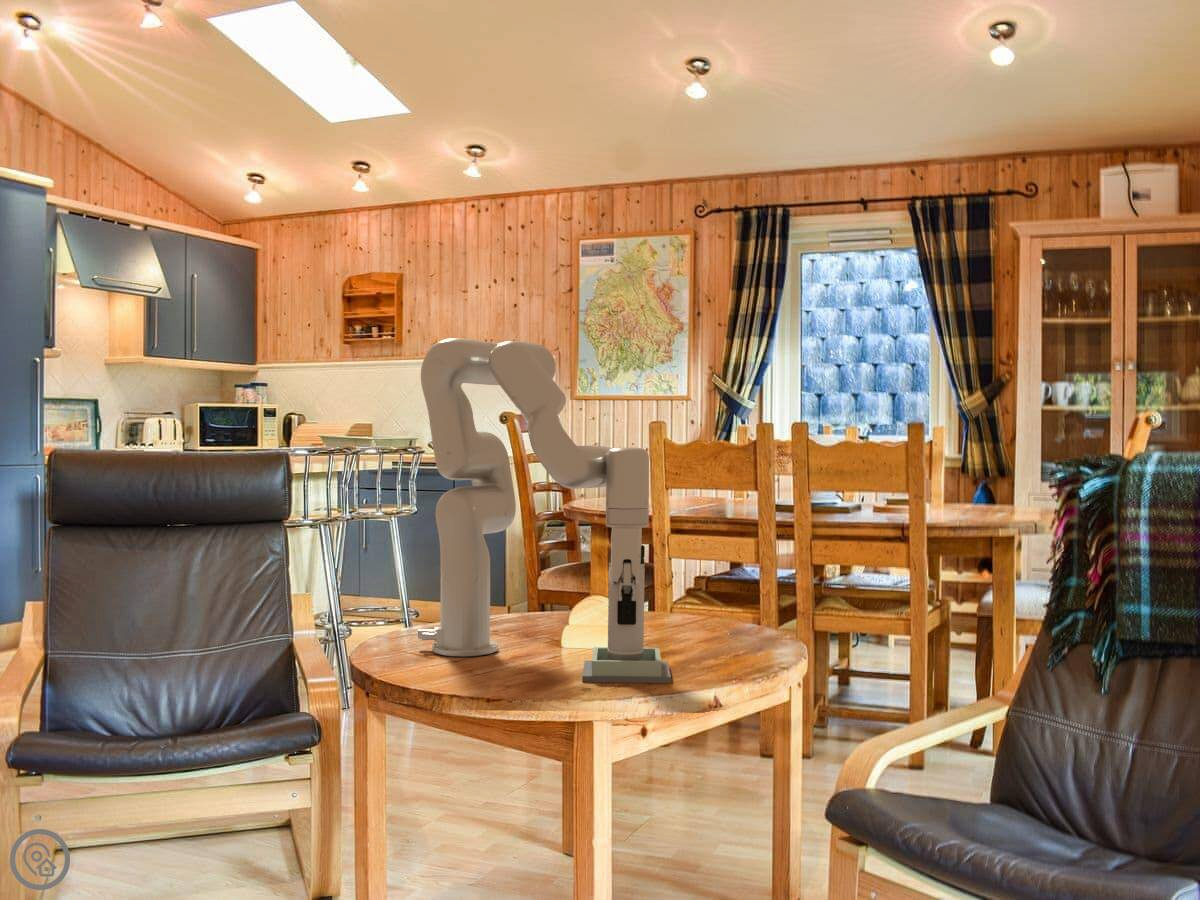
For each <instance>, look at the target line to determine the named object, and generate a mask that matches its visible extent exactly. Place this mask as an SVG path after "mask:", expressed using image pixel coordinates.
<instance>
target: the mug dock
mask: <svg viewBox="0 0 1200 900" xmlns="http://www.w3.org/2000/svg"><path fill="white" fill-rule="evenodd" d="M583 663H584V664H583V669H582V676H581V677H582V678H581V681H585V682H584V683H626V684H627V683H636V684H637V683H639V684H641V683H642V684H643V683H644V684H646V683H647V684H671V683H672V677H671V675H672V674H671V671H670V665H669V662H668V661H666V660H665V661H664V660H662V656H661V651H660V647H643V658H642V659H641V660H638V661H626V660H611V659H609V658H608V646H607V647H606V646H605V647H603V646H602V647H601V646H600V647H599V646H598V647H597V646H595V647H594V646H593V650H592V658H591V660H584V662H583Z"/></svg>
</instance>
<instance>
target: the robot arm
mask: <svg viewBox="0 0 1200 900" xmlns="http://www.w3.org/2000/svg"><path fill="white" fill-rule="evenodd" d="M556 367H557V366H556V361H555V356H554V355H553V354H552V352H551V351H550V350H549V349H548V348H547V347H545V346H544V345H543V344H540V343H535V342H529V341H528V342H527V341H520V340H508V341H507V340H506V341H504V342H491V341H483V340H475V339H470V338H459V337H457V338H456V337H452V338H446V339H443V340H440V341H438V342H437V343H435V344H434V345H432V346H431V347H430V348H429V349H428V351H427V352H426V354H425V356H424V359H423V361H422V365H421V369H420V384H421V388H422V389H421V390H422V393H423V397H424V400H425V404H426V407H427V414H428V418H429V428H430V429H429V430H430V433H431V434H430V435H431V439H432V440H431V441H432V447H433V453H434V459H435V460H434V461H435V464H436V465H435V466H436V469H437V471H438V473H439V474H440V476H442V477H443V478H445V479H447V480H451V481H467V480H468V481H471V484H472V485H469V486H459V487H454V488H451V489H449V490H447V491H446V492H444V493H443V494H442V495H441V496H440V498H439V499H438V502H437V503H436V506H435V522H436V527H437V532H438V539H439V549H440V552H439V553H440V555H439V556H440V614H439V615H440V616H439V617H440V619H439V620H440V621H439V622H440V625H439V626H438V627H434V629H427V628H419V629H418V630H417V639H418V640H421V641H433V642H434V643H433V644H432V646H431V651H432V652H433V653H434V654H437V655H439V656H448V657H477V656H478V657H479V656H486V655H490V654H493V653H496V652H498V650H499V644H498V643H497V641H494V640H490V639H491V637H490V636H491V635H490V634H491V556H490V551H489V547H488V545H487V542H486V538H485V536H484V535H487V534H488V535H489V534H496V533H500V532H503V531H505V530H506V529H508V528H509V527H510V526H511V525H512V524H513V522H514V520H515V516H516V512H517V511H516V510H517V509H516V508H517V504H516V503H517V502H516V496H515V488H514V482H513V476H512V475H513V474H512V470H511V469H512V468H511V465H510V459H509V453H508V450H507V448H506V445H504V442H503V441H502V440H501V438H500V437H498V435H495V434H493V433H491V432H488V431H477V429H476V424H475V420H474V419H475V418H474V412H473V411H474V410H473V408H472V404H471V402H470V400H469V398H468V396H467V395H466V393H465V392H464V390H463V388H462V385H463V384H472V385H484V386H485V385H488V386H499V387H500V388H501V389H502V390H503V392H504V393H505V394H506V396H507V397H508V398H509V399H510V401H511V402H512V403H513V405H514V406H515V408H516V409H517V410H518V411H519V413H520V414H521V415H522V417H523V419H525V421H526V423H527V434H528V437H529V442H530V446H531V449H532V452H533V453H534V456H535V457H536V458H537V460H538V461H539V462H540V464H541V466H542V467H543V468H544V469H545V470H546V472H547V473H548V474H549V475H550V477H551V478H552V479H553V480H554V481H555V482H556V483H557V484H558V485H560V486H562V487H563V488H566V489H570V490H571V489H572V490H579V489H596V488H597V489H598V488H605V527H607V528H611V534H610V547H611V583H612V584H613V585H614V582H618V580H619V601H617V623H618V624H619V625H635V624H636V601H635V585H636V584H638V583H639V576H640V565H641V545H643V542H642V540H643V539H642V535H643V532H642V531H643V529H642V528H644V529H645V528H649V526H650V524H649V523H650V522H649V521H650V520H649V519H650V516H649V513H650V510H649V509H650V508H649V507H650V505H649V503H650V501H649V500H650V456H649V455H650V454H649V452H648V451H647V450H646V449H644V448H642V447H609V446H602V445H577V444H575V441H573V440H572V439H571V437H570V436H569V434H567V431H565V429H564V428H563V426H562V424H561V423H560V420H559V415H560V413H561V412H562V411H563V409H564V408H565V406H566V402H567V399H566V395H565V393H564V391H563V390H562V389H561V388H560V386H559V385H558V384H557V383H556V381H555V380H554V377H555V375H556V369H557V368H556ZM623 560H624V570H623ZM635 576H636V578H635ZM622 579H624V583H621V580H622ZM632 579H633V583H631V580H632Z"/></svg>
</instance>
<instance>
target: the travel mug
mask: <svg viewBox="0 0 1200 900" xmlns="http://www.w3.org/2000/svg"><path fill="white" fill-rule="evenodd" d="M608 551H609V555H608V556H609V558H608V559H609V561H608V566H609V567H608V600H607V601H608V605H607V607H608V609H607V612H608V613H607V614H608V615H607V617H608V618H607V647H608V658H609V659H611V660H626V661H638V660H641V659H642V658H643V648H644V641H645V640H644V639H645V638H644V635H645V634H644V633H645V631H644V630H645V628H644V625H645V575H646V574H645V567H646V566H645V565H646V563H645V545H643V544H642V545H641V565H640V576H639V583H638V584H636V585H635V601H636V624H635V625H619V624H618V623H617V601H619V580H618V582H614V585H613V584H612V583H611V546H610V547H609V550H608ZM623 570H624V560H623ZM635 578H636V576H635ZM621 583H624V579H622V580H621ZM631 583H633V579H632V580H631Z"/></svg>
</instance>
